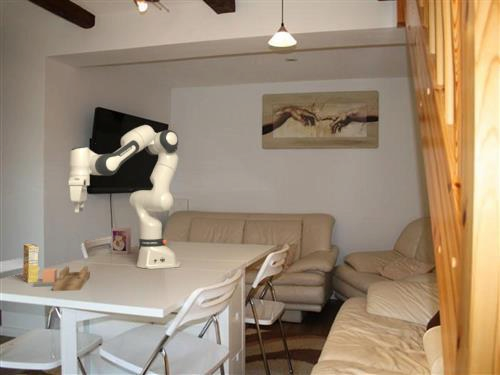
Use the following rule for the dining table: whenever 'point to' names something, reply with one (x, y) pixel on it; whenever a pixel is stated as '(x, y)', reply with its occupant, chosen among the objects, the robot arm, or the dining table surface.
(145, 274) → the dining table surface
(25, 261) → the candy box
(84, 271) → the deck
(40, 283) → the trivet
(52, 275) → the block
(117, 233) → the greeting card
